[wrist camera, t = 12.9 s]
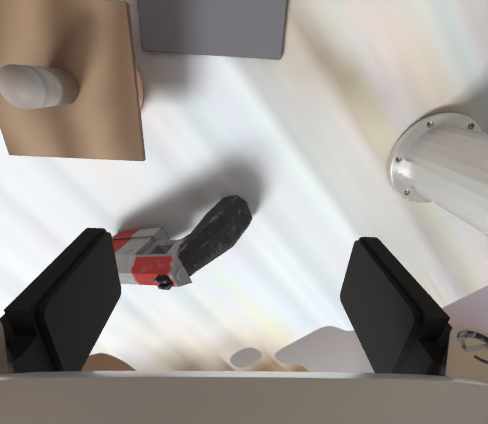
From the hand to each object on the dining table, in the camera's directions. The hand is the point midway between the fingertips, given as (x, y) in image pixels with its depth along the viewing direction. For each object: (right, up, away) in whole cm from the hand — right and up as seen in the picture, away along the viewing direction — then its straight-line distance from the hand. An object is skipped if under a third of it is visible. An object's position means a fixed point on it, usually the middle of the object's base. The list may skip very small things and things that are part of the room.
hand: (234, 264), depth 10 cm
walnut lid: (-17, +14, +16) cm, 28 cm away
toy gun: (-10, -1, +32) cm, 33 cm away
